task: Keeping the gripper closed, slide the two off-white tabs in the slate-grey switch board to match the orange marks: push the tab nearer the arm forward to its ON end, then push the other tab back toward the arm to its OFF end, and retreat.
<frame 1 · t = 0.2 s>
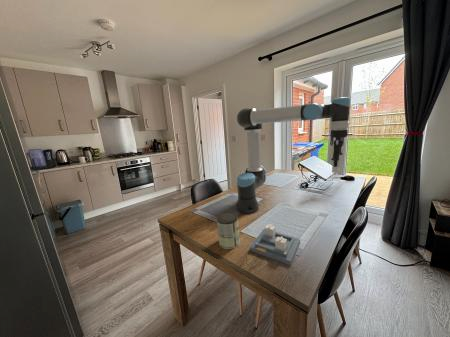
hand: (336, 169, 98), 28 cm above the table, fingers open, 13 cm apart
tab a: (270, 231, 87), point 5 cm above the table, slide at 0.0 cm
switch board: (275, 246, 83), on the table
tab b: (281, 244, 77), point 5 cm above the table, slide at 7.5 cm
coffee can: (229, 242, 89), on the table
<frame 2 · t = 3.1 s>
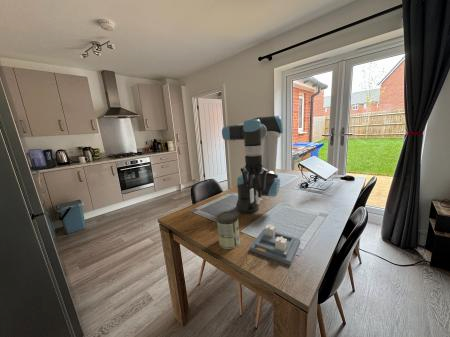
hand: (255, 202, 88), 19 cm above the table, fingers open, 3 cm apart
nothing on the table moved.
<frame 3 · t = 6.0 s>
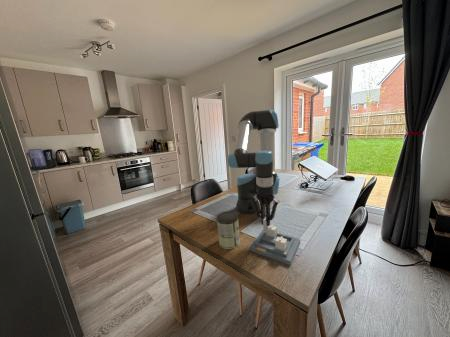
hand: (266, 230, 88), 5 cm above the table, fingers closed
tab a: (271, 231, 87), point 5 cm above the table, slide at 0.7 cm, touching gripper
everything else where it was.
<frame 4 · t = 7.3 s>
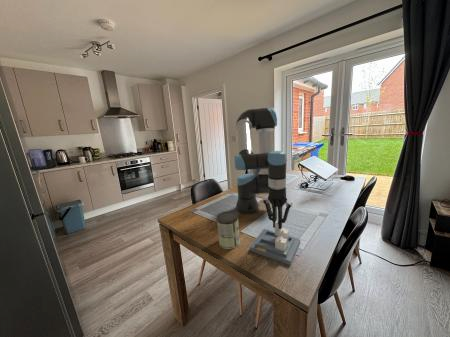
hand: (277, 234, 85), 4 cm above the table, fingers closed
tab a: (283, 234, 83), point 5 cm above the table, slide at 6.4 cm, touching gripper
everything else where it was.
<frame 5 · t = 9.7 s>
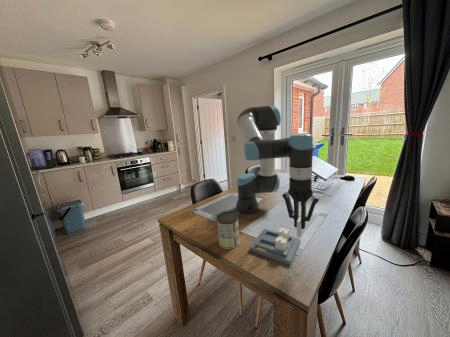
hand: (299, 234, 71), 12 cm above the table, fingers closed
tab a: (283, 234, 83), point 5 cm above the table, slide at 6.5 cm
everything else where it was.
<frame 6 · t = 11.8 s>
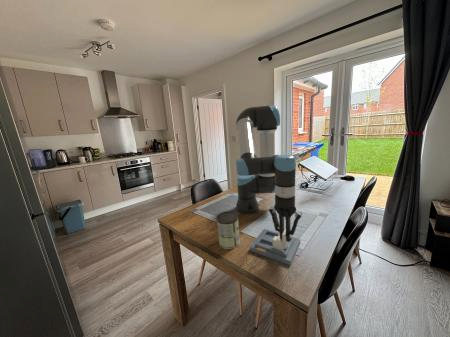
hand: (284, 246, 77), 4 cm above the table, fingers closed
tab b: (278, 243, 78), point 5 cm above the table, slide at 6.4 cm, touching gripper
everything else where it was.
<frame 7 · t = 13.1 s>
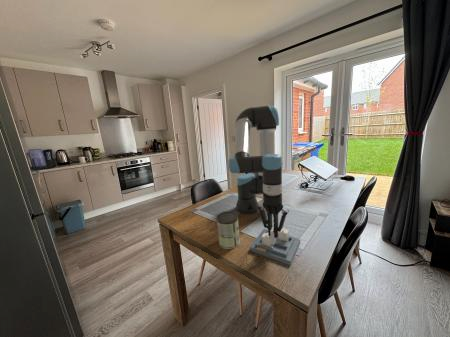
hand: (273, 242, 79), 4 cm above the table, fingers closed
tab b: (267, 239, 81), point 5 cm above the table, slide at 1.4 cm, touching gripper
everything else where it was.
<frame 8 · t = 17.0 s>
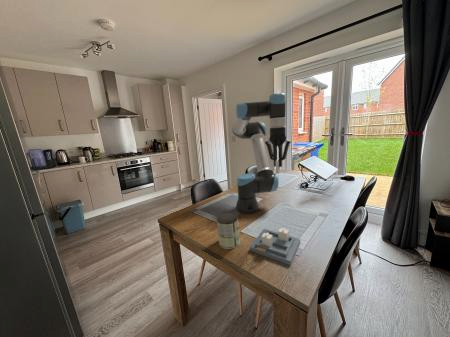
hand: (278, 172, 96), 29 cm above the table, fingers closed
tab b: (267, 239, 81), point 5 cm above the table, slide at 1.3 cm
everything else where it was.
at the end: tab a slide at 6.5 cm; tab b slide at 1.3 cm; coffee can moved 0.2 cm from its start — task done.
